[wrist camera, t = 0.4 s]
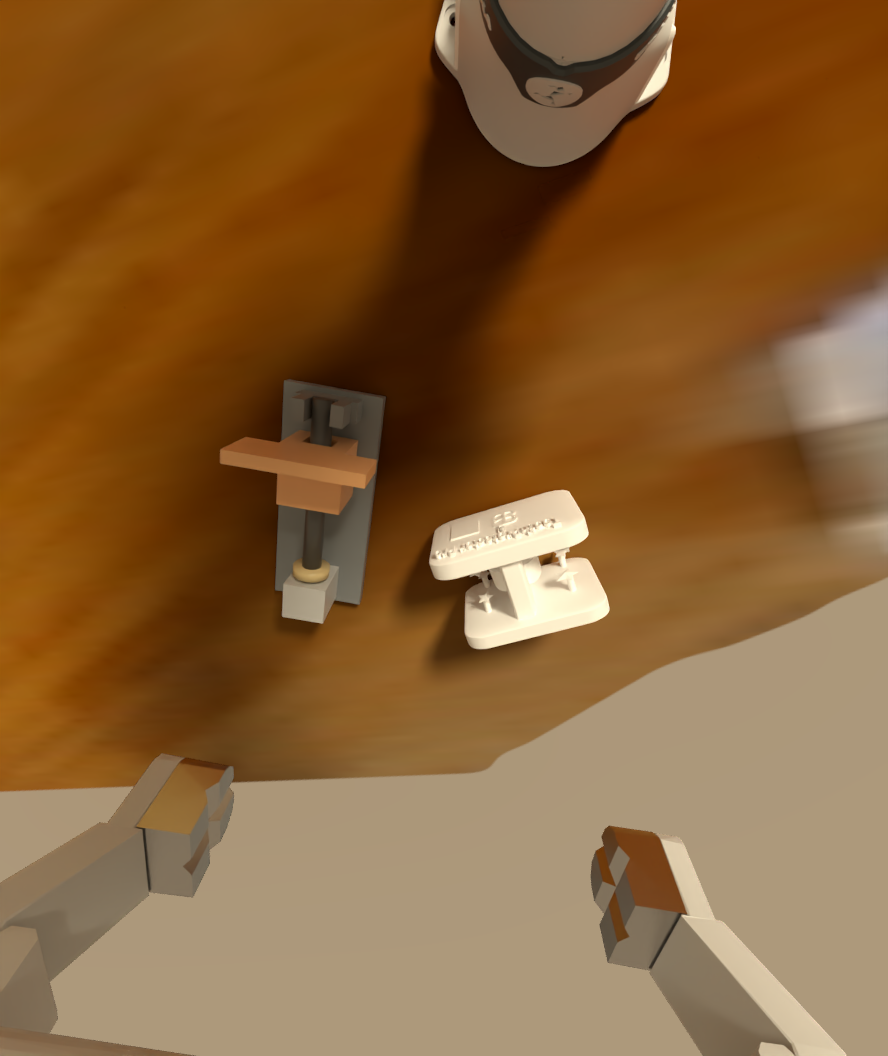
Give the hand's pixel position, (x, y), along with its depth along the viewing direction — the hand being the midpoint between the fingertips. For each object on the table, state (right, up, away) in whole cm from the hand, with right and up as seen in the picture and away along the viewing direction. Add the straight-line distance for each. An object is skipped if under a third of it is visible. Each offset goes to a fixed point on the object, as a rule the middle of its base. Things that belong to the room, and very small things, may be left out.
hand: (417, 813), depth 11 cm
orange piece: (-12, +13, +41) cm, 45 cm away
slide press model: (-12, +10, +45) cm, 47 cm away
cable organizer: (+8, +5, +46) cm, 47 cm away
